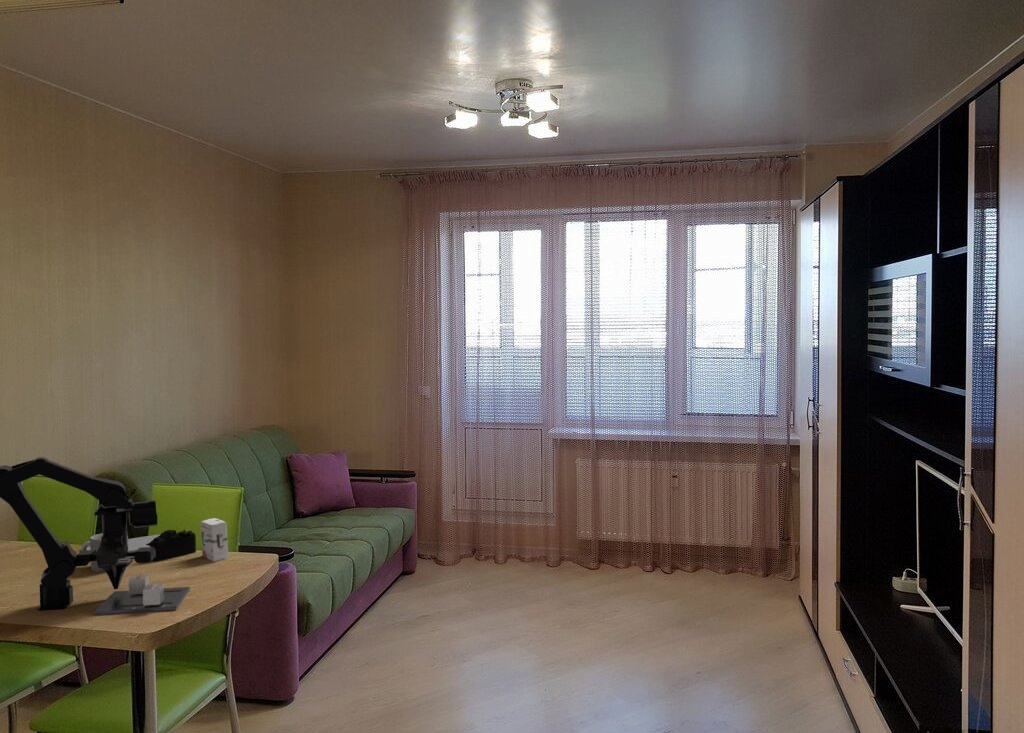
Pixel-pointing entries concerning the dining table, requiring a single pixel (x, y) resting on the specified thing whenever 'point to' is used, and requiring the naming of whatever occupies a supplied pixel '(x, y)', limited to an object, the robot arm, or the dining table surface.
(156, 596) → the fader
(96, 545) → the coffee mug
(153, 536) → the tablet
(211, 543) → the ink box
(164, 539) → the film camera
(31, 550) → the dining table surface
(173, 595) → the plate
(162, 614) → the dining table surface
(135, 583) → the fader
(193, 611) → the dining table surface
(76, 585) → the dining table surface
